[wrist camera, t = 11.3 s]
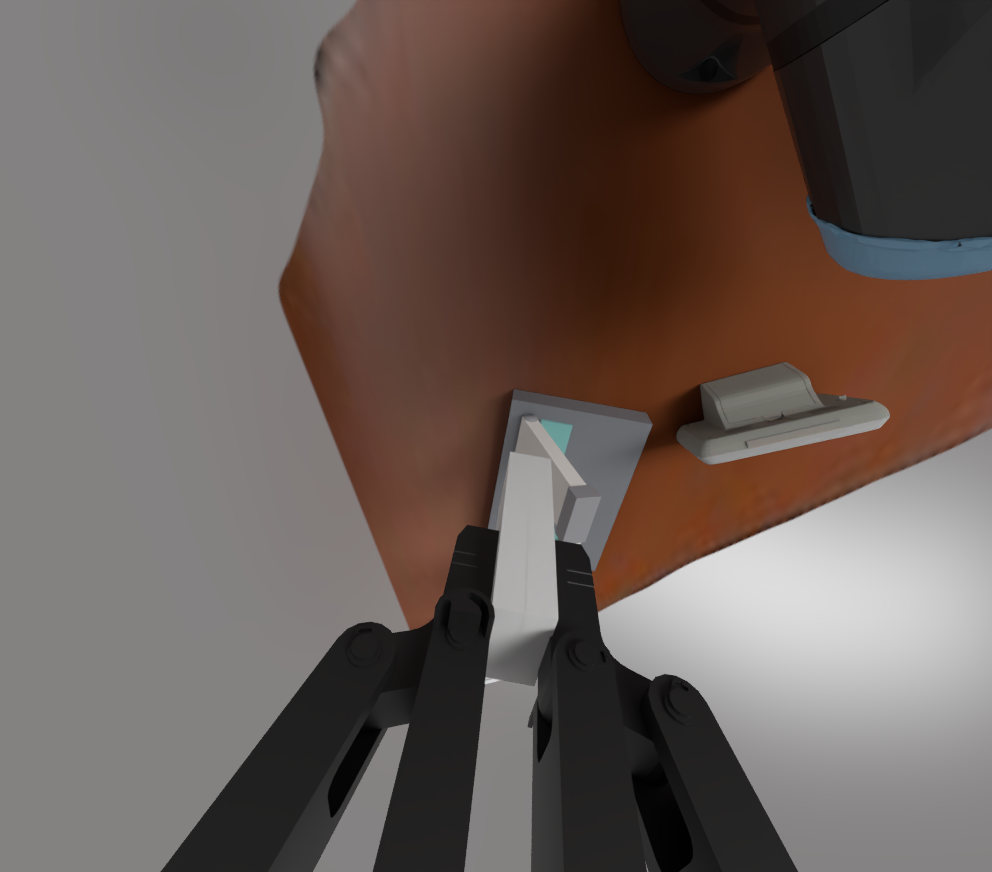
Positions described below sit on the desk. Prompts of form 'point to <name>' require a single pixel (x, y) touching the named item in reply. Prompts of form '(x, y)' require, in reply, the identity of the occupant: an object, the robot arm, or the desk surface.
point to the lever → (561, 483)
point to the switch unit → (583, 452)
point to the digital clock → (772, 415)
